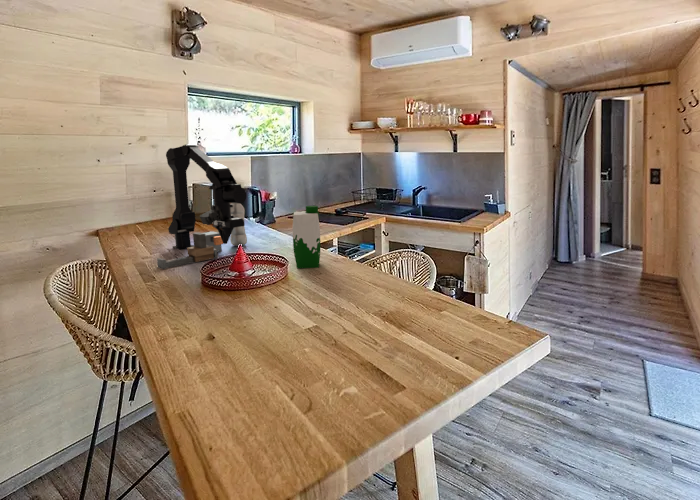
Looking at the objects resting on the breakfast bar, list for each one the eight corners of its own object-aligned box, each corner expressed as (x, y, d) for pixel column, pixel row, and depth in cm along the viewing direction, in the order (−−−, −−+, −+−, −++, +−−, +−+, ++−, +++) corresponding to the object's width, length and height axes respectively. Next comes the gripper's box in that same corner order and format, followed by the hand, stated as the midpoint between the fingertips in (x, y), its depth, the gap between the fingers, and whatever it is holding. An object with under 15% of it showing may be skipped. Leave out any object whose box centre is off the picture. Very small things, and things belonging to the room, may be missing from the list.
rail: (157, 267, 159) (156, 258, 159) (211, 256, 174) (211, 248, 174) (163, 269, 157) (162, 260, 156) (217, 257, 172) (217, 249, 171)
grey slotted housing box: (197, 251, 183) (196, 234, 182) (213, 248, 188) (212, 231, 187) (205, 253, 179) (204, 235, 178) (221, 250, 184) (220, 233, 183)
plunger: (206, 243, 181) (205, 235, 181) (213, 241, 184) (212, 234, 183) (216, 245, 177) (215, 237, 176) (223, 244, 179) (222, 236, 178)
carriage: (188, 259, 169) (185, 234, 167) (205, 256, 174) (203, 231, 172) (196, 262, 165) (194, 235, 163) (214, 258, 170) (212, 233, 168)
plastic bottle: (243, 247, 189) (240, 198, 184) (228, 247, 190) (224, 198, 186) (250, 244, 195) (246, 196, 190) (234, 244, 196) (231, 196, 192)
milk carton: (321, 268, 154) (319, 207, 149) (293, 269, 153) (290, 208, 149) (320, 261, 162) (318, 204, 158) (294, 263, 162) (291, 205, 157)
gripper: (188, 202, 172) (192, 244, 175) (216, 206, 160) (220, 250, 163) (215, 199, 180) (218, 239, 183) (244, 202, 168) (246, 245, 171)
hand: (225, 243), depth 175 cm, fingers closed
